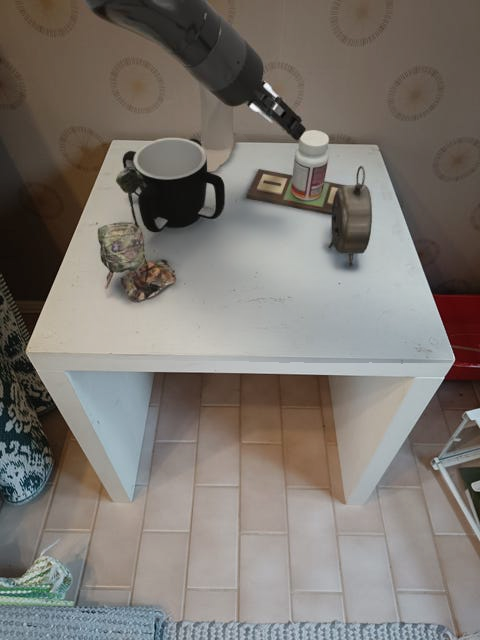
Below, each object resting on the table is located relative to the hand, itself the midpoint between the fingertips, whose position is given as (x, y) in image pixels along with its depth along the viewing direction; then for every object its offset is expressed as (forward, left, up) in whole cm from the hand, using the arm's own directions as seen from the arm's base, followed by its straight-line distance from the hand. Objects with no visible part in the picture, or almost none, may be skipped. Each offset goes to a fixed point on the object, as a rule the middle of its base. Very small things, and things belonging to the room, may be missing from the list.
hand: (284, 122), depth 69 cm
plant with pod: (+16, +25, -17) cm, 35 cm away
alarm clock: (-14, +7, -17) cm, 23 cm away
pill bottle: (-5, -5, -16) cm, 18 cm away
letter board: (-5, -6, -17) cm, 19 cm away
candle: (+17, -14, -17) cm, 28 cm away
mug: (+17, +7, -17) cm, 25 cm away
